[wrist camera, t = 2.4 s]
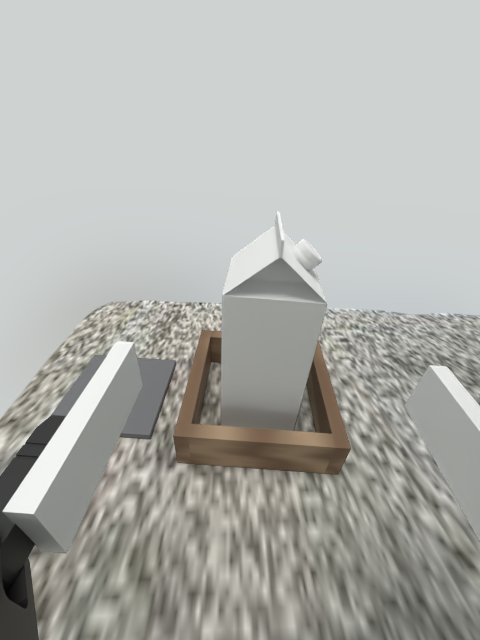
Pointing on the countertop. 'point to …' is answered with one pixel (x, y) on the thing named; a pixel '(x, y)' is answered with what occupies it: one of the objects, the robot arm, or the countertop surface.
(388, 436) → the countertop surface
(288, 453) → the wooden square frame
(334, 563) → the countertop surface
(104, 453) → the robot arm
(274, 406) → the milk carton
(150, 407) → the rubber mat
